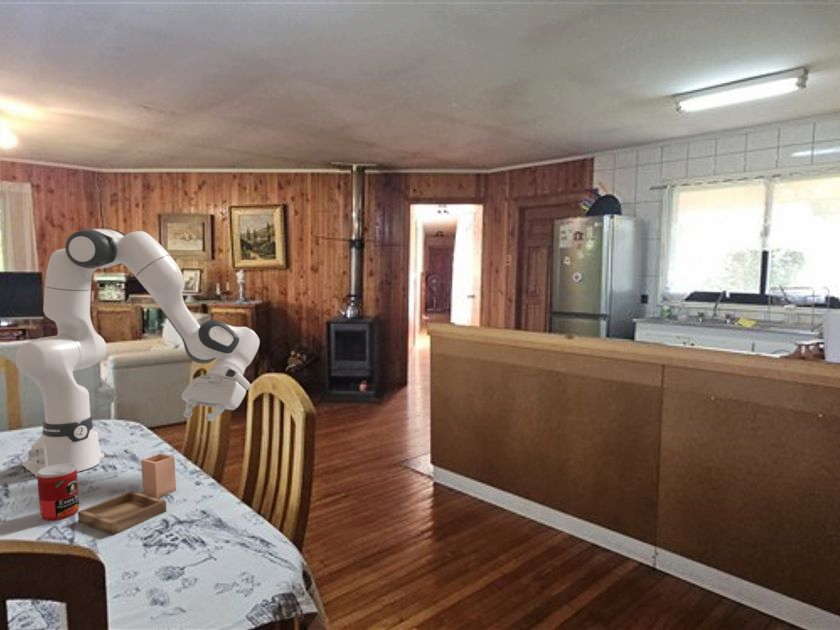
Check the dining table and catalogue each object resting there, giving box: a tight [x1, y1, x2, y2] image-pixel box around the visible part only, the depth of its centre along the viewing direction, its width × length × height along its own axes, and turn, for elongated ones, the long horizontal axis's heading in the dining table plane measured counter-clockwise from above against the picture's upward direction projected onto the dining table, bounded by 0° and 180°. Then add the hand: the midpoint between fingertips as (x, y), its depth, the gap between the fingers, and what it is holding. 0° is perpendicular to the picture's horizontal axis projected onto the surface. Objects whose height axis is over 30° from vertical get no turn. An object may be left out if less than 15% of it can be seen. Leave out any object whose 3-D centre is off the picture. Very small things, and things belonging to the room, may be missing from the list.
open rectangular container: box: [140, 452, 177, 499], centre depth 139 cm, size 6×6×9 cm
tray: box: [77, 490, 167, 536], centre depth 125 cm, size 13×13×2 cm
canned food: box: [36, 463, 80, 522], centre depth 127 cm, size 8×8×11 cm
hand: (197, 418), depth 149 cm, fingers open, 8 cm apart
